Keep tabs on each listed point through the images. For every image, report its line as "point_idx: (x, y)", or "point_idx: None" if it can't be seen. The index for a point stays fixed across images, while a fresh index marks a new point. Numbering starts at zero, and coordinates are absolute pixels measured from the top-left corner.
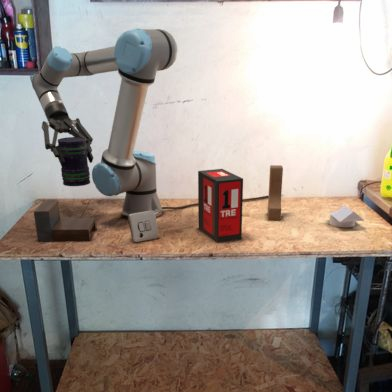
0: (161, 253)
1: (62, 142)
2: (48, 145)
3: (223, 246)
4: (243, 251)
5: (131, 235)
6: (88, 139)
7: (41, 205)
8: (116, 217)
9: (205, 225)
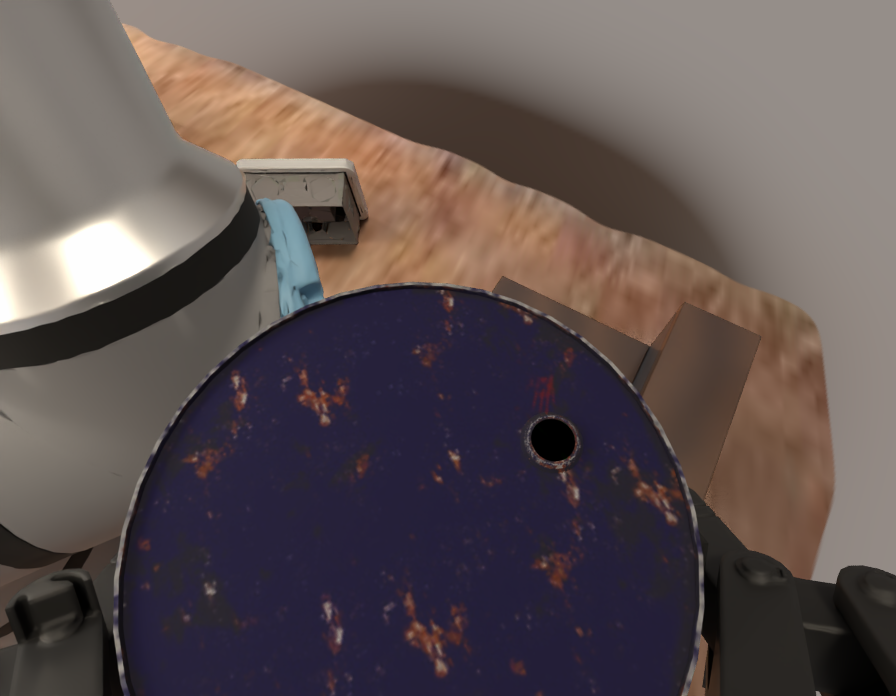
0: (348, 118)
1: (629, 396)
2: (855, 572)
3: (171, 89)
4: (162, 48)
5: (355, 235)
6: (35, 592)
7: (713, 424)
8: None
9: None
